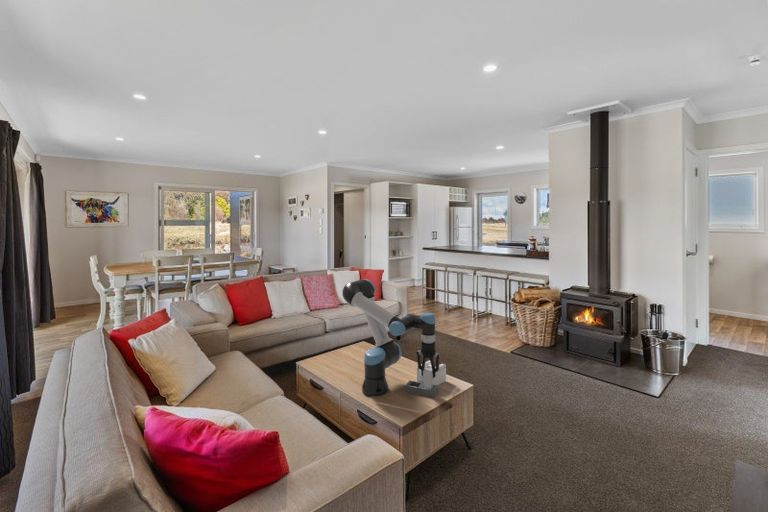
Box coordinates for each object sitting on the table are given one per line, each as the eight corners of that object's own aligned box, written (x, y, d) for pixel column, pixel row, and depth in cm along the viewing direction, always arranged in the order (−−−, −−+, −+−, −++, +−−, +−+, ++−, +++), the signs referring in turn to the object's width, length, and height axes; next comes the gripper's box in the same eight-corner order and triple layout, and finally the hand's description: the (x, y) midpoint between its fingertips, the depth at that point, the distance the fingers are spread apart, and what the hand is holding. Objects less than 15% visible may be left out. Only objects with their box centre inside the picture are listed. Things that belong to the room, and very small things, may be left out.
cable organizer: (433, 376, 227) (433, 358, 226) (446, 382, 219) (447, 363, 218) (416, 384, 217) (416, 365, 216) (430, 390, 209) (430, 371, 208)
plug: (423, 391, 204) (423, 370, 203) (426, 387, 208) (426, 367, 207) (430, 393, 202) (430, 372, 201) (433, 389, 207) (433, 368, 205)
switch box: (405, 392, 207) (405, 385, 207) (409, 387, 214) (409, 380, 213) (434, 398, 200) (434, 390, 200) (438, 392, 207) (438, 385, 206)
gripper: (411, 341, 202) (411, 382, 205) (441, 345, 195) (441, 387, 198) (415, 337, 209) (416, 376, 211) (445, 341, 202) (445, 381, 204)
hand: (428, 381), depth 205 cm, fingers closed on plug, 4 cm apart
